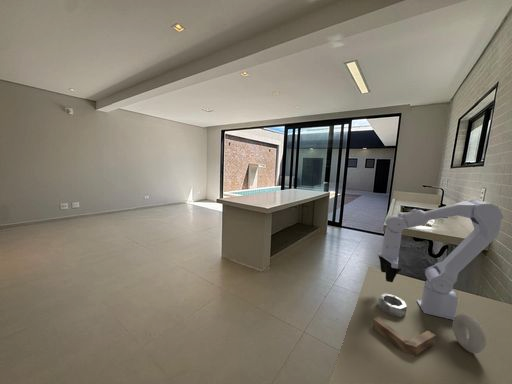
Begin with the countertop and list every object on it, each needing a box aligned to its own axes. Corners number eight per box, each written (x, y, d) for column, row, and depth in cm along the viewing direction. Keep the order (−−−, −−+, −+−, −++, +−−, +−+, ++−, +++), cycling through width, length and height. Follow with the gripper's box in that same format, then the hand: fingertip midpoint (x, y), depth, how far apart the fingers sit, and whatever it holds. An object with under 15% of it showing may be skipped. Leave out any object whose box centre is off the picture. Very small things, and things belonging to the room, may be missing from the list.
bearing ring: (400, 305, 83) (402, 297, 82) (407, 319, 75) (409, 310, 75) (377, 299, 86) (378, 291, 85) (381, 313, 78) (382, 304, 77)
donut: (485, 363, 59) (493, 331, 58) (471, 361, 60) (478, 329, 59) (459, 335, 69) (465, 307, 68) (447, 333, 70) (452, 305, 68)
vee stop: (431, 340, 67) (433, 331, 66) (445, 365, 58) (447, 355, 58) (371, 324, 72) (372, 316, 72) (376, 345, 64) (378, 336, 64)
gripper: (375, 237, 93) (371, 266, 95) (385, 250, 80) (380, 283, 82) (394, 240, 91) (389, 269, 93) (406, 253, 78) (401, 287, 80)
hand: (386, 276), depth 87 cm, fingers open, 7 cm apart
